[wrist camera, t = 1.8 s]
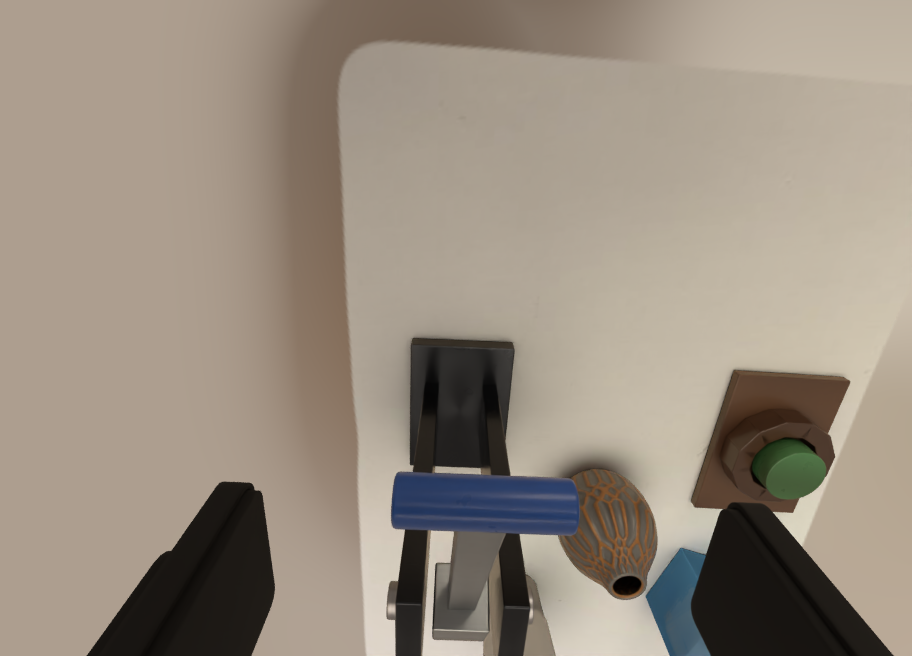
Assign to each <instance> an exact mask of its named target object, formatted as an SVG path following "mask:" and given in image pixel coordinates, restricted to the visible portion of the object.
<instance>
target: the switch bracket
mask: <svg viewBox="0 0 912 656" xmlns="http://www.w3.org/2000/svg"><path fill="white" fill-rule="evenodd" d="M514 351H515V349H514V346H513V343H512V342H491V341H468V340H445V339H421V338H413V339H412V343H411V391H410V465H414V467H413V472H424V473H435V466H442V467H468V468H481V475H501V476H510V469H509V463H508V456H507V450H506V443H505V439H506V429H507V419H508V410H509V400H510V390H511V380H512V371H513V361H514ZM430 535H431V530H407V529H405V534H404V542H403V549H402V557H401V564H400V572H399V579H398V581H391V582H390V584H389V590H388V598H387V619H388V620H395V638H396V656H422V650H423V636H424V621H425V607H426V592H427V578H428V564H429V549H430ZM489 600H490V615H491V630H492V645H493V656H523V655H524V648H525V642H526V635H527V629H528V625H531V624H532V623H533V620H534V599H533V592H532V589H531V587H530V586H527V581H526V574H525V568H524V561H523V554H522V548H521V541H520V535H519V534H513V533H506V534H505V537H504V539H503V542H502V544H501V547H500V549H499V552H498V554H497V557H496V559H495V562H494V564H493V567H492V569H491V572H490V574H489Z"/></svg>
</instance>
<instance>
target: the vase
mask: <svg viewBox="0 0 912 656" xmlns="http://www.w3.org/2000/svg"><path fill="white" fill-rule="evenodd" d="M570 479H572V480H573V481H574V483H575V485H576V488H577V491H578V496H579V504H580V519H579V525H578V529H577V532H576V534H574V535H572V536H566V535H558V537H559V540H560V543H561V545H562V548H563V550H564V551H565V553H566V555H567V556H568V558H569V559H570V561H571V562H572V563H573V565H574V566H575V567H576V568H577V569H578V570H579V571H580V572H581V573H582V574H584V575H585V576H587V577H588V578H590V579H591V580H593V581H595V582H596V583H598V584H600V585H602V586H603V587H604V588H605V589H606V590H607V591H608V592H609V593H610V594H611V595H612V596H613V597H615V598H617V599H621V600H629V599H633V598H636V597H638V596H640V595H641V594H642V593H643V592H644V591H645V589H646V586H647V574H648V572H649V570H650V568H651V565H652V563H653V561H654V558H655V555H656V551H657V529H656V524H655V520H654V517H653V514H652V511H651V509H650V507H649V505H648V503H647V502H646V500H645V498H644V497H643V495H642V494H641V493H640V491H639V490H638V489H637V488H636V487H635V486H634V485H633V484H632V483H631V482H630V481H628V480H627V479H626V478H624V477H623V476H621V475H619V474H617V473H615V472H612V471H608V470H604V469H591V470H586V471H583V472H580V473H578V474H576V475H574V476H573V477H572V478H570Z"/></svg>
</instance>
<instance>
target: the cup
mask: <svg viewBox="0 0 912 656" xmlns="http://www.w3.org/2000/svg"><path fill="white" fill-rule="evenodd" d="M526 581H527V586H530V587H531V589H532V592H533V599H534V620H533V623H532V624H531V625H528V629H527V635H526V642H525V648H524V655H523V656H556V655H555V651H554V647H553V643H552V639H551V635H550V631H549V627H548V623H547V620H546V618H545V617H544V614H543V610H542V606H541V602H540V598H539V594H538V590H537V586H536V583H535V582H534V580H533V579H532V578H530V577H529V576H528V575H526ZM489 617H490V631H489V633H488V635H487V636H486V638H485V639H484V644H483V656H493V645H492V630H491V615H490V600H489Z"/></svg>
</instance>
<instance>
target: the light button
mask: <svg viewBox="0 0 912 656" xmlns="http://www.w3.org/2000/svg"><path fill="white" fill-rule="evenodd" d="M752 470H753V473H754V475H755V476H756V477H757V479H758V480H759V481H760V482H761V483H762V484H763V485H764V487H765V488H766V489H767V490H768V491H769V492H770V493H771V494H772V495H773V496H775V497H777V498H780V499H797V498H801V497H804V496H806V495H808V494H810V493H811V492H813V491H814V490H816V489H817V488H818V487H819V486H820V485H821V483H822V482H823V480H824V478H825V475H826V466H825V463H824V461H823V460H822V459H821V458H820V457H819V456H818V455H817V454H816V453H814V452H813V451H812V450H811V449H810V448H809V447H808V446H807V445H805V444H804V443H803V442H802V441H800V440H797V439H793V438H781V439H779V440H776V441H773V442H770V443H768V444H767V445H766V446H764V447H763V448H762V449H761V450H760V451H759V452H758V453H757V454H756V455H755V456H754V459H753V462H752Z"/></svg>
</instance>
